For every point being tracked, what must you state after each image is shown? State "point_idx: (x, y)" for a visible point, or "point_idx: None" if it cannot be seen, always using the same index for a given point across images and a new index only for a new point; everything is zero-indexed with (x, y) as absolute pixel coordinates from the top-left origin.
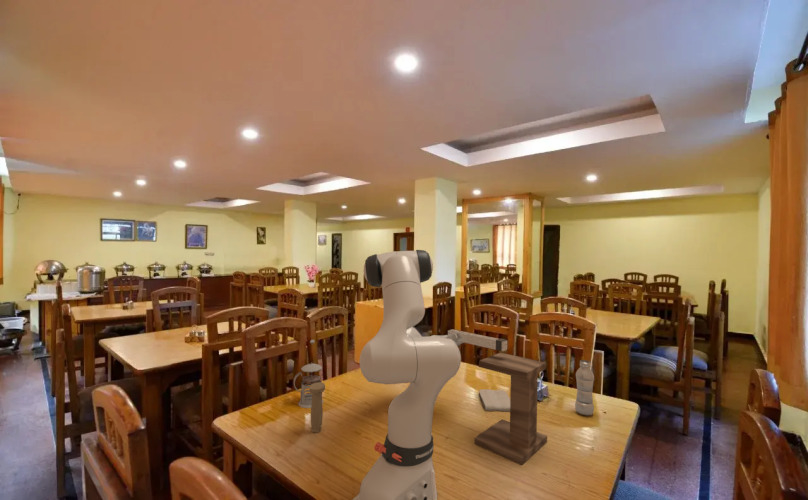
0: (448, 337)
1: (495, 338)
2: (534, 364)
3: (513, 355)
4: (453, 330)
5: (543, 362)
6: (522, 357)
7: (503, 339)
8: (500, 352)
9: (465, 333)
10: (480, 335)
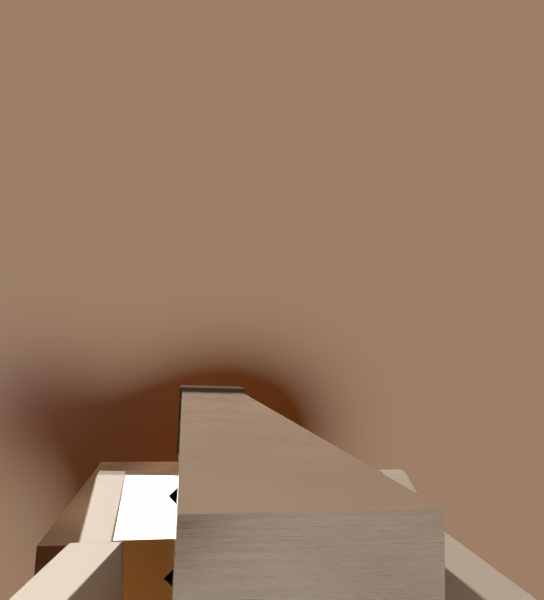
0: (510, 595)
1: (194, 393)
2: (163, 467)
3: (68, 508)
4: (283, 481)
5: (105, 463)
6: (79, 491)
7: (191, 386)
8: (38, 545)
9: (265, 425)
10: (199, 405)
